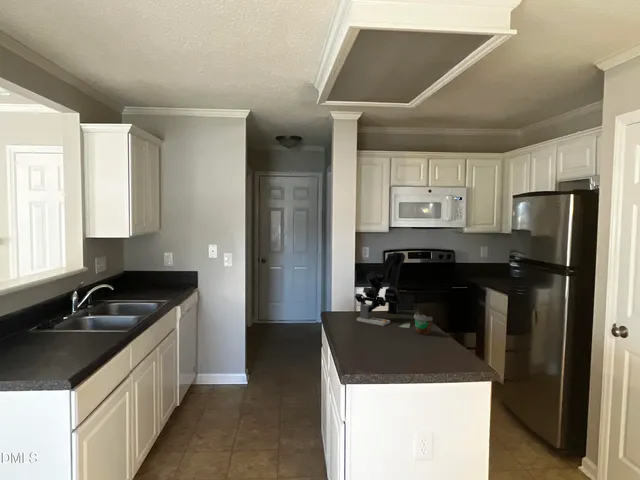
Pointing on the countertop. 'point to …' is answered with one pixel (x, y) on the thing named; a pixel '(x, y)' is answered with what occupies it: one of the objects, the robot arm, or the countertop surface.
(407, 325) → the mat
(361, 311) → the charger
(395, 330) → the countertop surface
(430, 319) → the food container
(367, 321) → the power strip
